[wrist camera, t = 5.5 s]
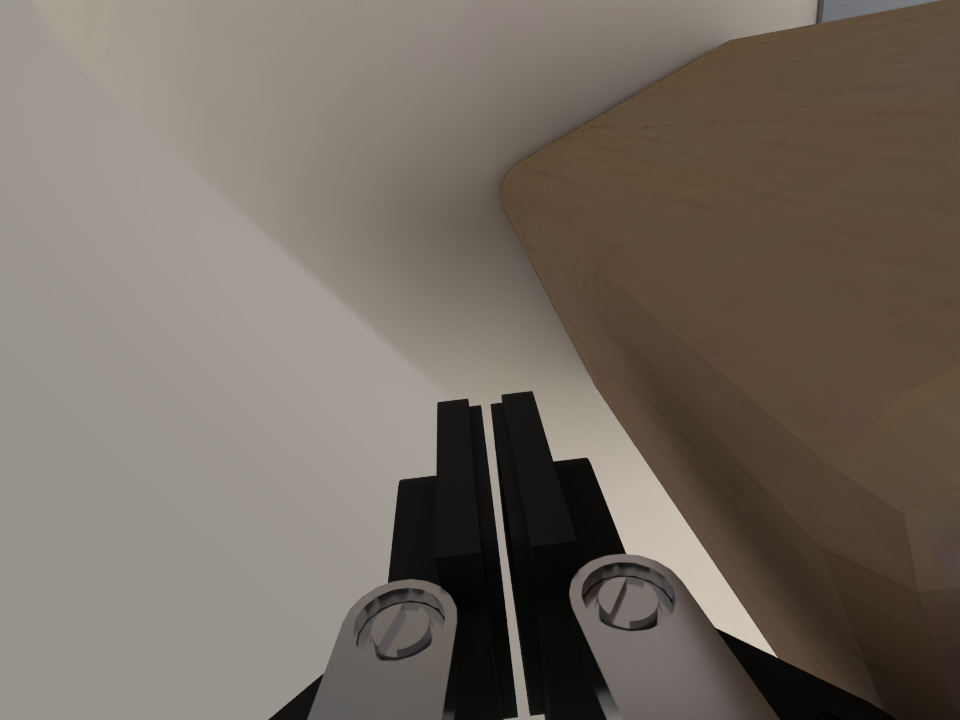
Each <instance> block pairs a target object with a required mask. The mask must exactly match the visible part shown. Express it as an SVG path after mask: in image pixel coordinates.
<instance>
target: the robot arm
mask: <svg viewBox="0 0 960 720" xmlns="http://www.w3.org/2000/svg"><path fill="white" fill-rule="evenodd" d="M437 407H438V408H437V476H428V477H420V478H411V479H403V480H400V481H399V486H398V494H397V503H396V513H395V522H394V531H393V541H392V550H391V559H390V568H389V578H388V584H385V585H382V586H379V587H377V588H375V589H374V590H372V591H370V592H369V593H367V594H366V595H364V596H362V598H360V600H358V601H357V602H356V604H355V605H354V606H353V607H352V608H351V609H350V610H349V612H348V614H347V616H346V618H345V620H344V621H343V624H342V626H341V629H340V632H339V634H338V637H337V640H336V643H335V645H334V648H333V651H332V654H331V656H330V659H329V662H328V664H327V667H326V670H325V673H324V674H323V675H321V676H320V677H319V678H318V679H316V680H315V681H314V682H313V683H312V684H311V685H309V686H308V687H307V688H306V689H305V690H303V691H302V692H301V693H300V694H299V695H297V696H296V697H295V698H294V699H293V700H291V701H290V702H289V703H288V704H287V705H285V706H284V707H283V708H282V709H281V710H279V711H278V712H277V713H276V714H275V715H274V716H273V717H271V718H270V719H269V720H503V719H508V718H515V717H518V713H517V704H516V695H515V688H514V678H513V670H512V661H511V652H510V643H509V635H508V626H507V617H506V609H505V600H504V592H503V582H502V574H501V565H500V557H499V549H498V540H497V532H496V524H495V515H494V507H493V500H492V491H491V484H490V475H489V466H488V459H487V450H486V442H485V434H484V426H483V418H482V409H481V405H479V406H470V407H469V401H468V399H461V400H453V401H444V402H438V405H437ZM491 413H492V422H493V431H494V440H495V450H496V458H497V468H498V477H499V486H500V495H501V505H502V513H503V522H504V532H505V540H506V548H507V555H508V562H509V569H510V576H511V583H512V591H513V597H514V605H515V612H516V619H517V626H518V634H519V641H520V647H521V655H522V662H523V669H524V676H525V684H526V691H527V698H528V705H529V712H530V715H531V716H532V715H541V714H544V715H545V720H896V719H895V718H894V717H893V716H891V715H890V714H888V713H886V712H885V711H883V710H881V709H880V708H878V707H876V706H875V705H873V704H871V703H870V702H868V701H866V700H864V699H861V698H859V697H857V696H855V695H853V694H851V693H849V692H847V691H845V690H843V689H841V688H839V687H837V686H835V685H833V684H830V683H828V682H826V681H824V680H822V679H820V678H818V677H816V676H814V675H812V674H810V673H808V672H806V671H804V670H801V669H799V668H797V667H795V666H793V665H791V664H789V663H787V662H785V661H783V660H781V659H779V658H777V657H775V656H773V655H770V654H768V653H766V652H764V651H762V650H760V649H758V648H756V647H754V646H752V645H750V644H748V643H746V642H744V641H741V640H739V639H737V638H735V637H733V636H731V635H729V634H727V633H725V632H723V631H721V630H719V629H717V628H715V627H714V626H713V624H712V623H711V622H710V620H709V619H708V617H707V616H706V614H705V613H704V612H703V610H702V609H701V607H700V606H699V605H698V603H697V602H696V600H695V599H694V598H693V596H692V595H691V593H690V592H689V590H688V589H687V588H686V586H685V585H684V583H683V582H682V581H681V580H680V579H679V578H678V577H677V576H676V575H675V573H674V572H673V571H672V570H671V569H669V568H667V567H665V566H664V565H662V564H660V563H659V562H657V561H655V560H652V559H649V558H645V557H642V556H638V555H628V554H626V552H625V550H624V547H623V545H622V542H621V540H620V537H619V534H618V532H617V529H616V527H615V524H614V522H613V519H612V517H611V514H610V512H609V509H608V506H607V504H606V501H605V499H604V496H603V494H602V491H601V489H600V486H599V484H598V481H597V478H596V476H595V473H594V471H593V468H592V466H591V463H590V461H589V459H588V458H580V459H571V460H563V461H554V462H553V459H552V456H551V452H550V449H549V445H548V442H547V439H546V435H545V432H544V429H543V425H542V422H541V418H540V415H539V412H538V408H537V405H536V402H535V398H534V395H533V392H532V391H529V392H520V393H512V394H503V395H502V403H496V404H491Z"/></svg>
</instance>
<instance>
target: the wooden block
mask: <svg viewBox="0 0 960 720" xmlns="http://www.w3.org/2000/svg"><path fill="white" fill-rule="evenodd" d="M500 194H501V205H502V208H503V210H504V212H505V214H506V216H507V218H508V220H509V222H510V223H511V225H512V227H513V229H514V231H515V233H516V235H517V237H518V239H519V241H520V243H521V245H522V246H523V248H524V250H525V252H526V254H527V256H528V258H529V260H530V262H531V264H532V266H533V268H534V269H535V271H536V273H537V275H538V277H539V279H540V281H541V283H542V285H543V287H544V289H545V291H546V293H547V294H548V296H549V298H550V300H551V302H552V304H553V306H554V308H555V310H556V312H557V314H558V316H559V317H560V319H561V321H562V323H563V325H564V327H565V329H566V331H567V333H568V335H569V337H570V339H571V340H572V342H573V344H574V346H575V348H576V350H577V352H578V354H579V356H580V358H581V360H582V362H583V364H584V365H585V367H586V369H587V371H588V373H589V375H590V377H591V379H592V381H593V383H594V385H595V387H596V388H597V390H598V391H599V393H600V394H601V395H602V397H603V398H604V400H605V401H606V403H607V404H608V406H609V407H610V409H611V410H612V412H613V413H614V415H615V416H616V418H617V419H618V421H619V422H620V424H621V425H622V427H623V428H624V430H625V431H626V433H627V434H628V436H629V437H630V439H631V440H632V442H633V443H634V445H635V446H636V447H637V449H638V450H639V452H640V453H641V455H642V456H643V458H644V459H645V461H646V462H647V464H648V465H649V467H650V468H651V470H652V471H653V473H654V474H655V476H656V477H657V479H658V480H659V482H660V483H661V485H662V486H663V488H664V489H665V491H666V492H667V494H668V495H669V497H670V498H671V499H672V501H673V502H674V504H675V505H676V507H677V508H678V510H679V511H680V513H681V514H682V516H683V517H684V519H685V520H686V522H687V523H688V525H689V526H690V528H691V529H692V531H693V532H694V534H695V535H696V537H697V538H698V540H699V541H700V543H701V544H702V546H703V547H704V549H705V550H706V551H707V553H708V554H709V556H710V557H711V559H712V560H713V562H714V563H715V565H716V566H717V568H718V569H719V571H720V572H721V574H722V575H723V577H724V578H725V580H726V581H727V583H728V584H729V586H730V587H731V589H732V590H733V592H734V593H735V595H736V596H737V598H738V599H739V601H740V602H741V604H742V605H743V606H744V608H745V609H746V611H747V612H748V614H749V615H750V617H751V618H752V620H753V621H754V623H755V624H756V626H757V627H758V629H759V630H760V632H761V633H762V635H763V636H764V638H765V639H766V641H767V642H768V644H769V645H770V647H771V648H772V650H773V651H774V653H775V654H776V656H777V657H778V658H779V659H781V660H783V661H785V662H787V663H789V664H791V665H793V666H795V667H797V668H799V669H801V670H804V671H806V672H808V673H810V674H812V675H814V676H816V677H818V678H820V679H822V680H824V681H826V682H828V683H830V684H833V685H835V686H837V687H839V688H841V689H843V690H845V691H847V692H849V693H851V694H853V695H855V696H857V697H859V698H861V699H864V700H866V701H868V702H870V703H871V704H873V705H875V706H876V707H878V708H880V709H881V710H883V711H885V712H886V713H888V714H890V715H891V716H893V717H894V718H895V719H896V720H960V0H940V1H935V2H930V3H924V4H919V5H914V6H909V7H903V8H898V9H893V10H887V11H882V12H877V13H872V14H866V15H861V16H856V17H851V18H845V19H840V20H835V21H830V22H824V23H819V24H814V25H809V26H803V27H798V28H793V29H787V30H782V31H777V32H772V33H766V34H761V35H756V36H751V37H745V38H740V39H735V40H730V41H728V42H726V43H724V44H723V45H721V46H719V47H718V48H716V49H714V50H712V51H711V52H709V53H707V54H705V55H704V56H702V57H700V58H699V59H697V60H695V61H693V62H692V63H690V64H688V65H686V66H685V67H683V68H681V69H679V70H678V71H676V72H674V73H673V74H671V75H669V76H667V77H666V78H664V79H662V80H660V81H659V82H657V83H655V84H654V85H652V86H650V87H648V88H647V89H645V90H643V91H641V92H640V93H638V94H636V95H635V96H633V97H631V98H629V99H628V100H626V101H624V102H622V103H621V104H619V105H617V106H615V107H614V108H612V109H610V110H609V111H607V112H605V113H603V114H602V115H600V116H598V117H596V118H595V119H593V120H591V121H590V122H588V123H586V124H584V125H583V126H581V127H579V128H577V129H576V130H574V131H572V132H571V133H569V134H567V135H565V136H564V137H562V138H560V139H558V140H557V141H555V142H553V143H551V144H550V145H548V146H546V147H545V148H543V149H541V150H539V151H538V152H536V153H534V154H532V155H531V156H529V157H527V158H526V159H524V160H522V161H520V162H519V163H517V164H515V165H514V166H513V167H512V168H511V170H510V171H509V172H508V173H507V175H506V176H505V177H504V179H503V180H502V181H501V182H500Z"/></svg>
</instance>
